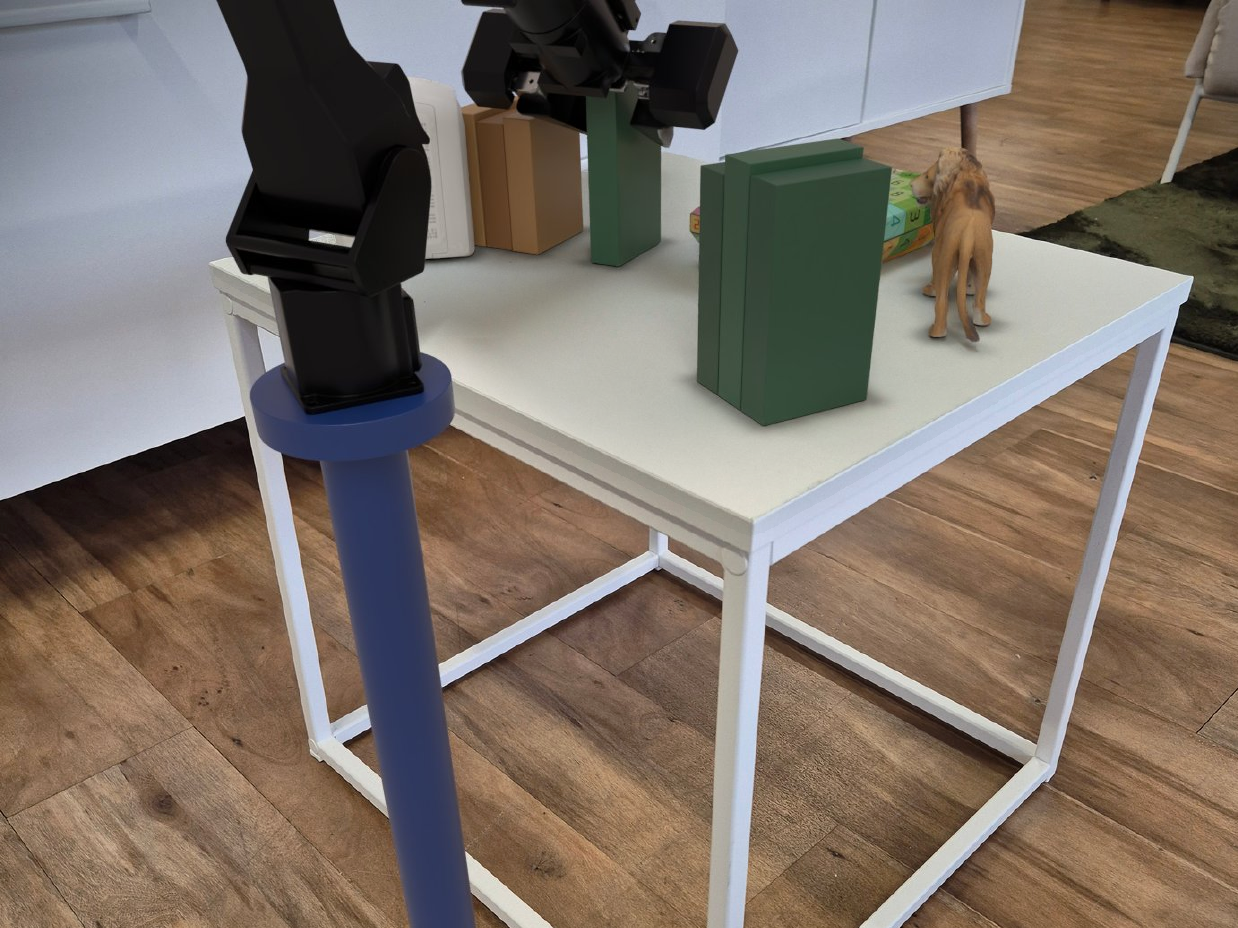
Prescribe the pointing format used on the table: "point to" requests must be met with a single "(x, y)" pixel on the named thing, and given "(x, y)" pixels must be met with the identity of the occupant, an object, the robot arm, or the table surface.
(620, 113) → the green book
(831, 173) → the green books
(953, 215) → the lion figurine
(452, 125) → the white rounded upright slab
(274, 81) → the robot arm
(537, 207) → the tan books
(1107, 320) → the table surface
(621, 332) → the table surface
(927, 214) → the puzzle game
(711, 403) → the table surface
